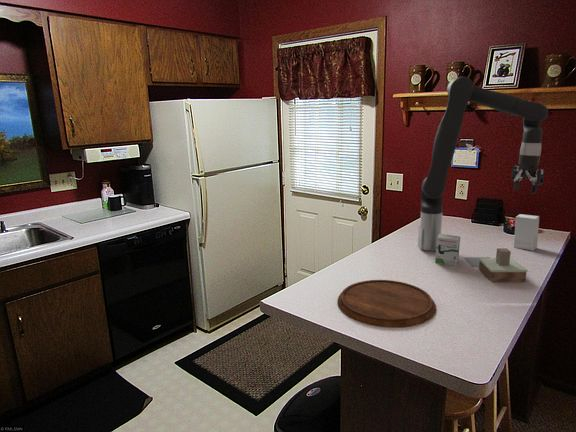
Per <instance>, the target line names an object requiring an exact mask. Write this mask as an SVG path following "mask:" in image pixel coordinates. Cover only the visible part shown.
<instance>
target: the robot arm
mask: <svg viewBox="0 0 576 432" xmlns="http://www.w3.org/2000/svg"><path fill="white" fill-rule="evenodd" d="M446 93H447V95H448V100H447V106H446V109H445V112H444V115H443V116H442V119H441V121H440V123H439V125H438V127H437V131H436V134H435V136H434V141H433V146H432V151H431V152H432V153H431V164H430V168H429V172H428V174H427V176H426V177H425V178H424V179H423V180H422V183H421V189H420V191H421V192H420V222H419V223H420V225H419V227H418V237H417V239H418V240H417V246H418V248H419V249H420V250H421V251H425V252H429V251H430V252H436V246H437V237H438V235H439V234H442V226H443V223H442V222H443V208H444V206H443V194H444V193H445V190H446V184H447V177H448V172H449V169H450V166H451V164H452V160H453V157H454V155H455V151H456V148H457V144H458V141H459V138H460V134H461V129H462V126H463V120H464V115H465V112H466V109H467V108H468V107H467V106H468V104H469V102H470V103H475V104H478V105H482V106H484V107H487V108H490V109H492V110H496V111H498V112H501V113H505V114H508V115H510V116H511V115H512V116H517V117H520V118H522V126H523V127H522V128H523V133H522V138H521V146H520V149H519V157H518V165H512V167H511V172H510V180H513V191H519V190H520V187H521V181H522V179H523V178H525V179H528V180H529V181H530V182H531V188H530V194H531V195H536V194H537V193H538V189H539V185H540V186H541V185H543V184H544V180H545V172H546V171H545V169H539V167H538V166H539V165H540V159H541V154H542V141H543V137H544V136H543V129H542V126H541V124H542V121H544V120H545V119H546V118H548V116H549V109H548V107H547V106H546V105H544V104H542V103H539V102H535V101H532V100H525V99H523V98H520V97H517V96H515V95H511V94H507V93H505V92H501V91H496V90H490V89H486V88H483V87H480V86H478V85H475V84H473V80H471V79H470V78H469V77H467V76H459V77H456V78H453V79H452V80H451V81H449V83H448V85H447V88H446Z"/></svg>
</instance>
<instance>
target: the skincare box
mask: <svg viewBox="0 0 576 432" xmlns="http://www.w3.org/2000/svg"><path fill="white" fill-rule="evenodd" d="M514 221H515V223H514V224H515V225H514V226H515V227H514V236H513V237H514V239H513V248H516V249H521V250H528V251H535V250H536V249H537V247H538V241H539V240H538V239H539V226H540V215H531V214H522V213H519V214H518V215H517V216H515V220H514Z"/></svg>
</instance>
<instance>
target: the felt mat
mask: <svg viewBox="0 0 576 432" xmlns="http://www.w3.org/2000/svg"><path fill="white" fill-rule="evenodd" d="M462 258H463V259H464V261H466V262H467V263H468V265H470V266H471V268H479V262H480V261H479V258H491V256H481V257H479V256H478V257H477V256H475V257H474V256H471V257H470V256H469V257H467V256H465V257H464V256H463V257H462Z"/></svg>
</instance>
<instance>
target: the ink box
mask: <svg viewBox="0 0 576 432" xmlns="http://www.w3.org/2000/svg"><path fill="white" fill-rule="evenodd" d="M460 245H461V236H459V235H451V234H443V233H441V234H439V235H438V237H437V246H436V251H435V259H434V260H435V261H434V262H435V264H440V265H447V266H448V265H449V266H450V265H451V266H455V267H457V266H458V263H459V255H460V247H461V246H460Z"/></svg>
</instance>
